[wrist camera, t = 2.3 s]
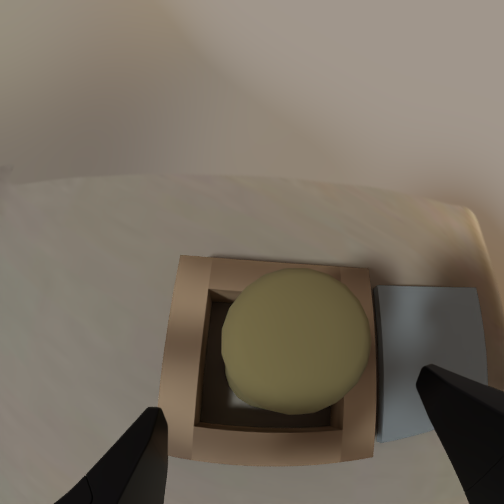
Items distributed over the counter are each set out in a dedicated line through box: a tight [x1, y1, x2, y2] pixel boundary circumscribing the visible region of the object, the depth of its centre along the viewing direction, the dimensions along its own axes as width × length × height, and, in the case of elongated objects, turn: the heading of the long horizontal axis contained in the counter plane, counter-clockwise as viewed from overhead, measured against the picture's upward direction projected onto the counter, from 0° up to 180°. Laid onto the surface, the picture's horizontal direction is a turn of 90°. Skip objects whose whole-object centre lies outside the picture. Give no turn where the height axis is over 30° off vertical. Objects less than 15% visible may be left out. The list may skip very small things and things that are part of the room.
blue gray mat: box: [373, 285, 488, 443], centre depth 17 cm, size 12×12×1 cm
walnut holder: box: [158, 255, 376, 466], centre depth 16 cm, size 13×13×2 cm
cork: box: [221, 268, 372, 415], centre depth 12 cm, size 6×6×11 cm
